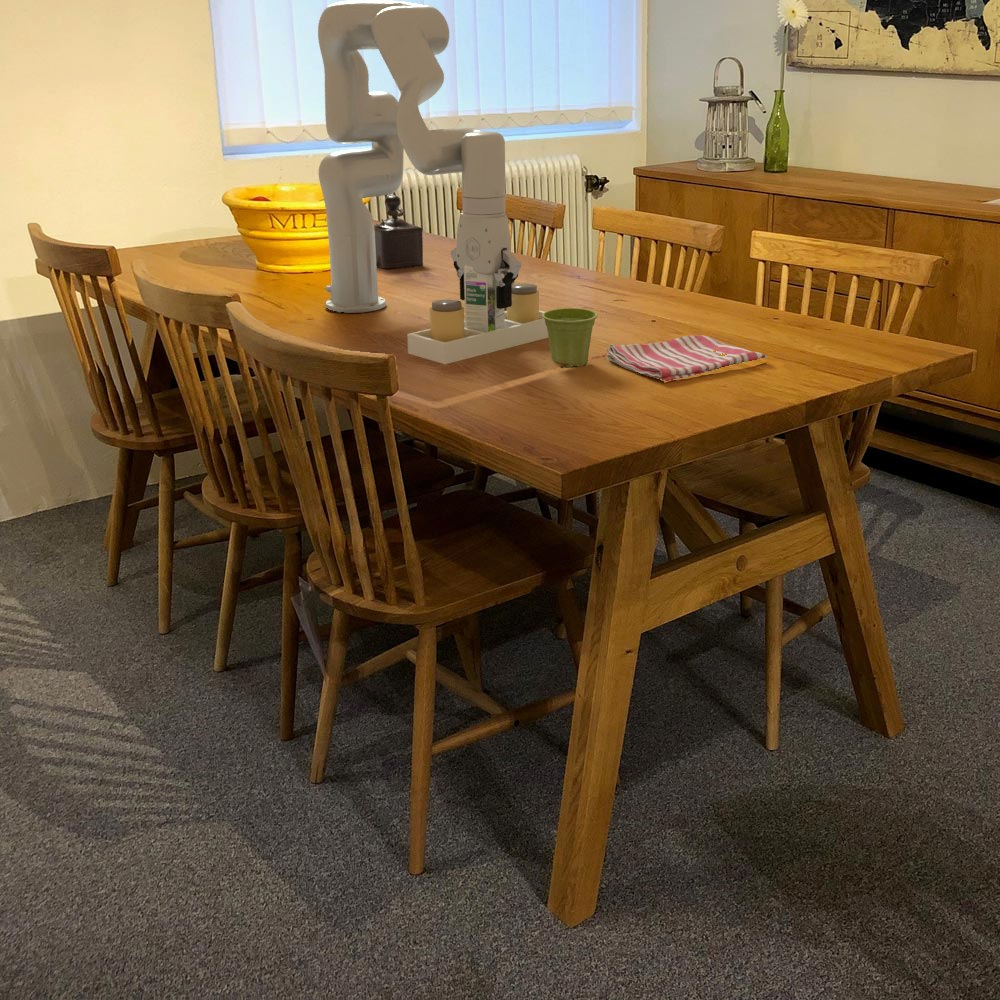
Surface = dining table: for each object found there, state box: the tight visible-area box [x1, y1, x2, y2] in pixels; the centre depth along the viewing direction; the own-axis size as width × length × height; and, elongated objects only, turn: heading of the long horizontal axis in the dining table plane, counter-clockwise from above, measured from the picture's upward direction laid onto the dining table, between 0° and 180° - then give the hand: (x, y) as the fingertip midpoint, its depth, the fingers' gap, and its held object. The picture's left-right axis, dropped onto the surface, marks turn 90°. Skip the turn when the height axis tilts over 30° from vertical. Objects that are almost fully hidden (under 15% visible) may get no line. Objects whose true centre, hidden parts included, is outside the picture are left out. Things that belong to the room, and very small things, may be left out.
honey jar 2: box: [506, 282, 540, 323], centre depth 214 cm, size 6×6×9 cm
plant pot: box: [542, 307, 598, 368], centre depth 198 cm, size 9×9×9 cm
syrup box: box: [464, 265, 505, 333], centre depth 207 cm, size 6×6×14 cm
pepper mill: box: [374, 194, 424, 270], centre depth 279 cm, size 16×11×18 cm
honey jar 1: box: [429, 299, 465, 342], centre depth 202 cm, size 6×6×9 cm
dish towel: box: [606, 334, 769, 381], centre depth 199 cm, size 17×23×4 cm
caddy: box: [406, 310, 549, 365], centre depth 209 cm, size 10×29×4 cm, turn 133°
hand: (485, 303), depth 207 cm, fingers open, 9 cm apart
